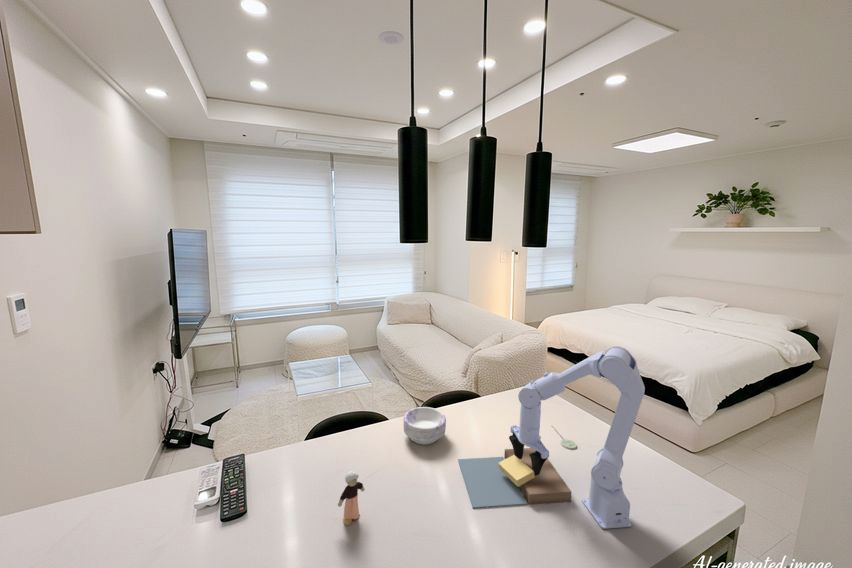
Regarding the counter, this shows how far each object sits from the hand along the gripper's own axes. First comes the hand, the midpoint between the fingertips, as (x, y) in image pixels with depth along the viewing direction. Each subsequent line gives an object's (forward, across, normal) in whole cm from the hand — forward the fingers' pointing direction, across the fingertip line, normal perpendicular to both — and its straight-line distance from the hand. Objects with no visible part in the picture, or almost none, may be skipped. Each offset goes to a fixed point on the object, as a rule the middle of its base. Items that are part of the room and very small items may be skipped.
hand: (527, 466), depth 103 cm
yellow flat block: (+1, 0, +4) cm, 4 cm away
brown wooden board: (+4, -1, -2) cm, 5 cm away
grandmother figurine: (+4, +6, +51) cm, 52 cm away
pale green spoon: (+4, +12, -27) cm, 30 cm away
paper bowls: (+4, +32, +20) cm, 37 cm away
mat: (+4, +4, +11) cm, 12 cm away
